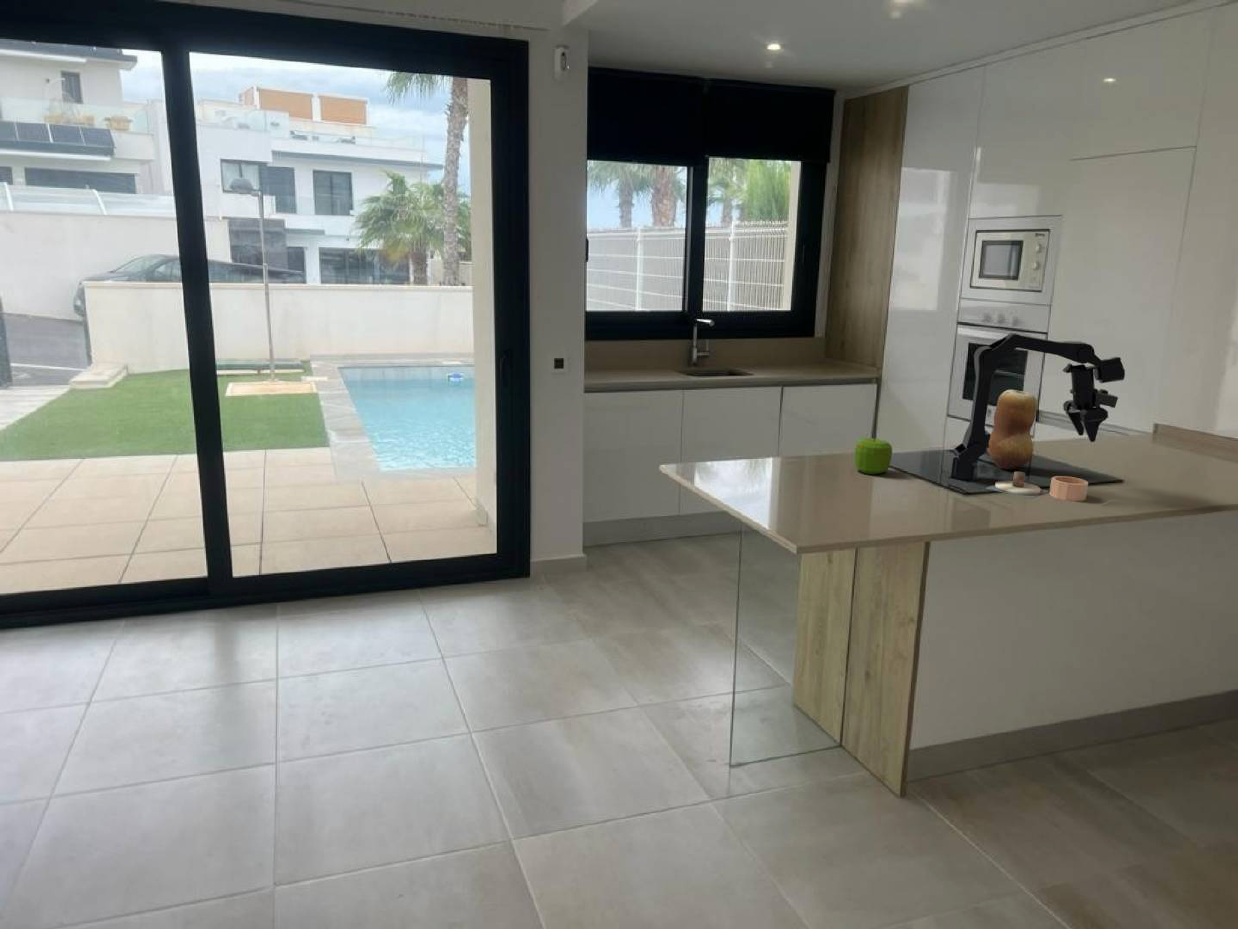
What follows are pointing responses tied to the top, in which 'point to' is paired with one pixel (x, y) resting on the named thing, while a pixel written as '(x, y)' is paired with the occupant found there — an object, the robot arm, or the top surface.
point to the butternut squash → (1012, 429)
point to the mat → (1017, 494)
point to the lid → (1018, 485)
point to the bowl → (1068, 488)
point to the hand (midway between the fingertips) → (1086, 438)
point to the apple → (872, 455)
